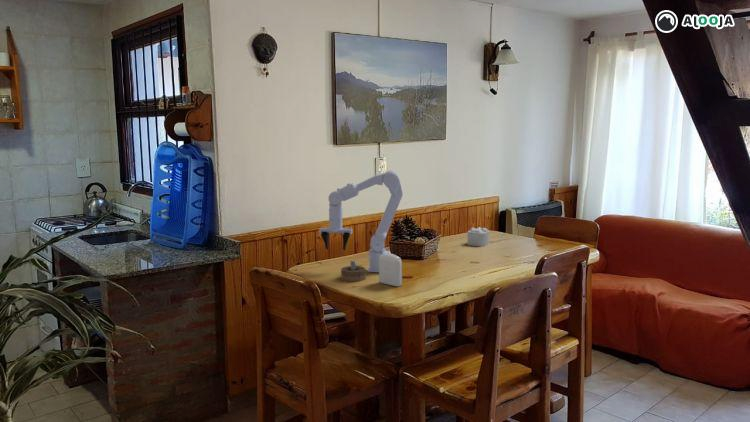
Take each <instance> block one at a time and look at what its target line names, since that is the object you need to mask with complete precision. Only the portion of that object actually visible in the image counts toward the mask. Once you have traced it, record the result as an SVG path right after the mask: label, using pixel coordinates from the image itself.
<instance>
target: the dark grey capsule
mask: <svg viewBox="0 0 750 422" xmlns="http://www.w3.org/2000/svg"><path fill="white" fill-rule="evenodd" d="M350 266H351V270H356V266H357V261H356V260H355V261H354V260H351V261H350Z"/></svg>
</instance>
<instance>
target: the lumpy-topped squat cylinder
mask: <svg viewBox="0 0 750 422" xmlns="http://www.w3.org/2000/svg"><path fill="white" fill-rule="evenodd" d="M466 242H467V244H466V245H467V246H473V247H479V246H480V248H481V246H482V247H487V246H489V245H490V230H489V229H488V228H486V227H483V228H482V227H480V226H479V227H477V228H475V227H471V228H470V229H469V230H467V241H466ZM488 244H489V245H488ZM486 245H487V246H486Z"/></svg>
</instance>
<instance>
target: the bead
mask: <svg viewBox="0 0 750 422" xmlns="http://www.w3.org/2000/svg"><path fill="white" fill-rule="evenodd" d="M340 279H341V280H343V281H346V282H361V281H365V280H366V279H367V269H366V268H365V267H364V266H358V265H356V270H351V265H350V266H349V265H348V266H344V267H343V266H342V267H341V268H340Z"/></svg>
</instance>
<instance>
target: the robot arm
mask: <svg viewBox="0 0 750 422" xmlns="http://www.w3.org/2000/svg"><path fill="white" fill-rule="evenodd" d="M383 184H384V185H385V187H386V188H387V189H388V191H389V193H390V198H389V200H388V202H387V204H386V207H385V210H384V212H383V214H382V217H381V219H380V222H379V224H378V226H377V229H376V231H375V232H374V234H373V235H372V236H371V237H370V243H369V247H370V248H369V249H368V251H369V253H368V254H369V255H368V257H369V259H368V260H369V261H368V263H369V264H368V265H369V267H368V268H367V269H366V273H379V257H380V255H382V254H392V253H391V251H390V250H387V248H385V245H386V243H385V241H386V238H387V234H388V232H389V229H390V227H391V226H392V225H391V224H392V222H393V220H394V217H395V216H396V215H395V214H396V212H397V209H399V205H400V203H401V200H402V198H403V189H402V186H401V185H402V184H401V180H400V178H399V177H398V174H397V173H396V172H395V171H393V170H387V171H386V172H381V173H379V174H376V175H373V176H371V177H369V178H367V179H365V180H363V181H362V182H359V183H357V184H355V183H350V182H349V183H347V184H346V185H345V186H343V187H341V188H339V187H338V188H337V189H336V190H334V191H332V192H331V193H329V195H328V198H327V199H328V202H329V204H328V205H329V206H328V207H329V209H328V218H329V219H328V225H329V226H328V227H320V228H319V229H318V232H319V233H318V234H320V236H321V238H322V239H323V243H324V246H325V249H326V250H329V249H330V243H329V242H330V241H329V239H330V234H342V241H343V242H342V243H343V244H342V250H343V251H345V250H347V245H348V241H349V238H350V236H351V235H352V234H353V228H347V227H346V228H345V227H343V208H342V207H343V205H342V204H343V203H342V202H346V201H348V200H350V199H353V198H355V197H358V196H359V193H360V192H361V191H364V190H366V189H368V188H371V187H374V186H375V185H376V186H377V185H379V186H384V185H383Z"/></svg>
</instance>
